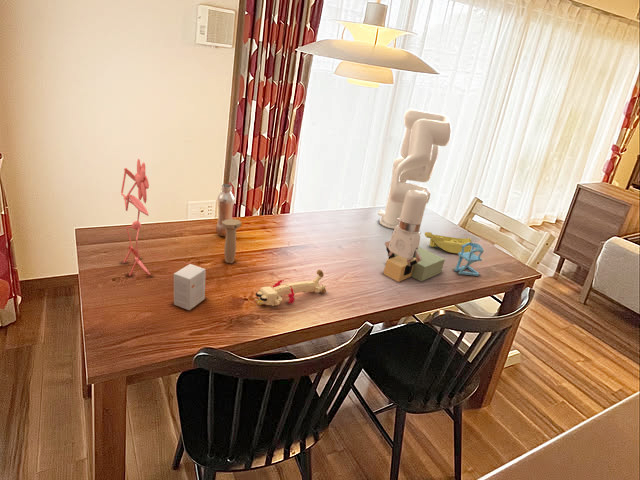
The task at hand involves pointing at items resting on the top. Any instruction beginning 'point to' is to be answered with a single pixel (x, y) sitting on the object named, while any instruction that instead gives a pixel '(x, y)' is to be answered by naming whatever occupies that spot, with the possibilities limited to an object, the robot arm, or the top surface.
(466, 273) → the chair
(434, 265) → the notch pad
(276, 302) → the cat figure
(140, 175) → the figurine
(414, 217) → the robot arm
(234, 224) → the handle
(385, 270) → the tan rectangular block
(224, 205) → the plastic bottle
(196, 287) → the small box
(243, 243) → the top surface
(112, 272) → the top surface
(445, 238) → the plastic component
